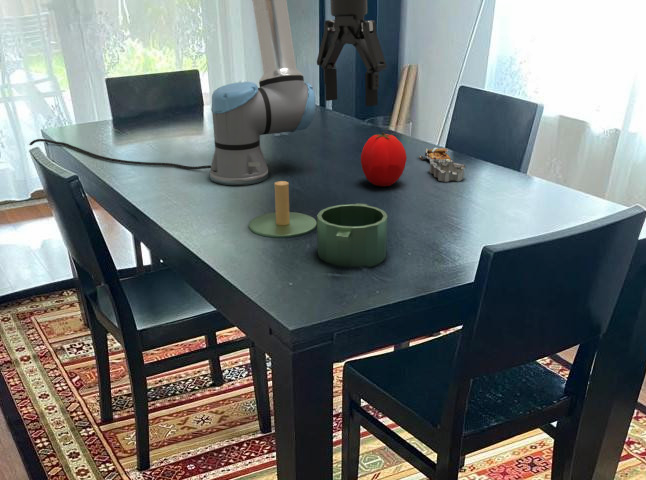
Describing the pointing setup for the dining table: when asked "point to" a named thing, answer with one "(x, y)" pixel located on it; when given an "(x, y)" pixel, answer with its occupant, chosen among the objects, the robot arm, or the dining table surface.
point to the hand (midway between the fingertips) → (351, 102)
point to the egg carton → (446, 170)
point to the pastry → (436, 154)
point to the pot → (352, 235)
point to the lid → (282, 218)
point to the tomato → (383, 159)
